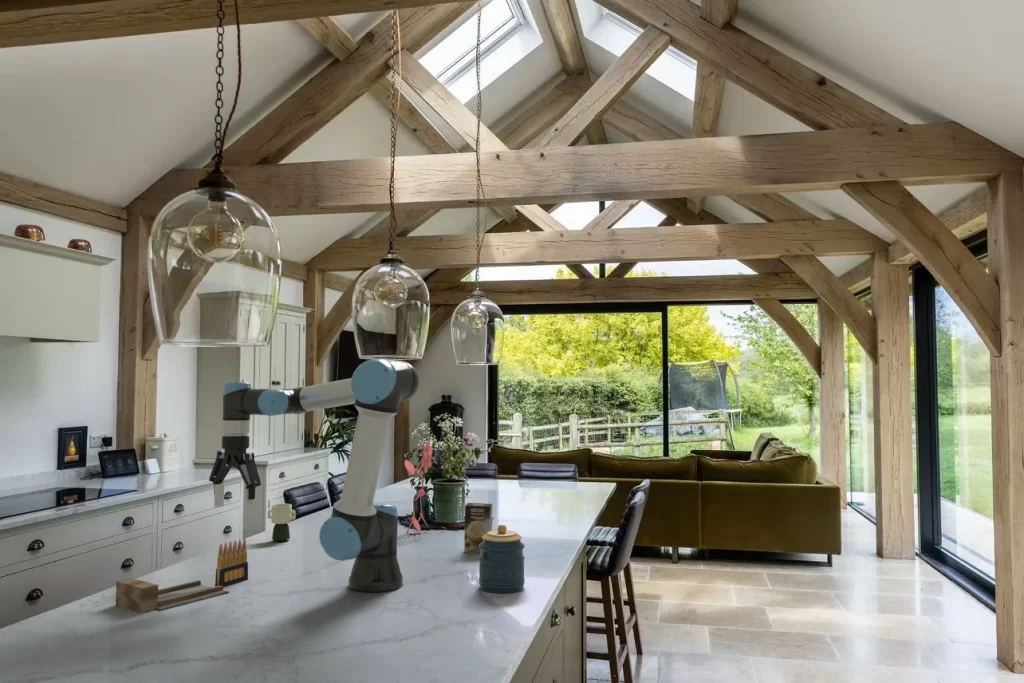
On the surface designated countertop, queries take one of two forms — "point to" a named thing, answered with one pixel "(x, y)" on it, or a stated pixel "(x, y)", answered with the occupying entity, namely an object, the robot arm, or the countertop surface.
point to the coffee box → (476, 525)
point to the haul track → (161, 594)
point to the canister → (501, 561)
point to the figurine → (427, 464)
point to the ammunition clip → (232, 564)
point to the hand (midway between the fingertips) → (233, 509)
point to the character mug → (281, 520)
